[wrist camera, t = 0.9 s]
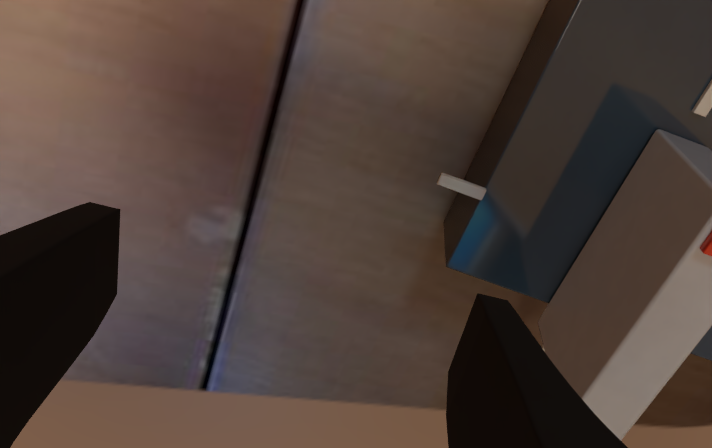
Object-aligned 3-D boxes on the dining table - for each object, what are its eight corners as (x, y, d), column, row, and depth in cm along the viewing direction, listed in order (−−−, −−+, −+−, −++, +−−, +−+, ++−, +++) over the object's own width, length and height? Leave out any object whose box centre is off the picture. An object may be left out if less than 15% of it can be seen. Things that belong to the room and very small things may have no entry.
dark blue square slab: (651, 368, 25) (680, 430, 22) (379, 273, 24) (372, 324, 21) (883, 66, 19) (963, 97, 16) (532, -75, 18) (551, -68, 15)
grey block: (581, 338, 21) (621, 452, 16) (536, 321, 20) (564, 433, 16) (709, 147, 17) (800, 230, 13) (656, 127, 17) (730, 204, 13)
